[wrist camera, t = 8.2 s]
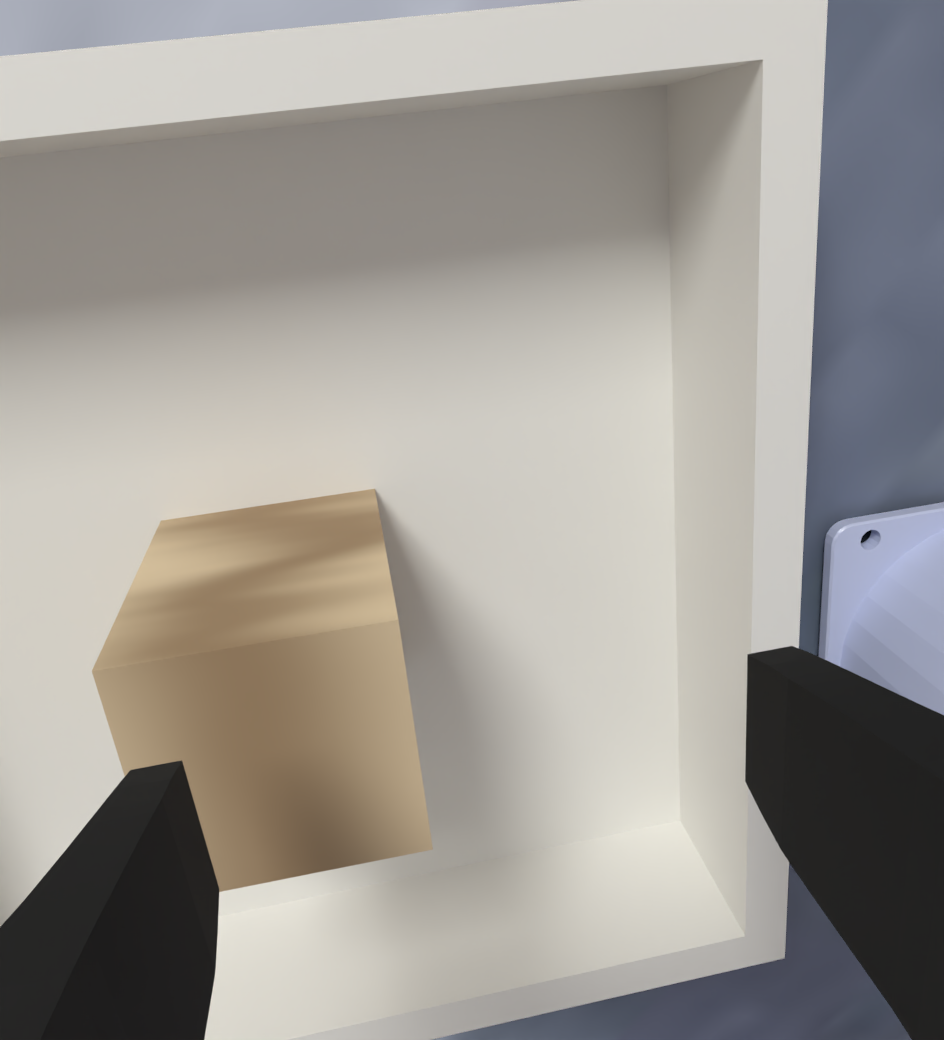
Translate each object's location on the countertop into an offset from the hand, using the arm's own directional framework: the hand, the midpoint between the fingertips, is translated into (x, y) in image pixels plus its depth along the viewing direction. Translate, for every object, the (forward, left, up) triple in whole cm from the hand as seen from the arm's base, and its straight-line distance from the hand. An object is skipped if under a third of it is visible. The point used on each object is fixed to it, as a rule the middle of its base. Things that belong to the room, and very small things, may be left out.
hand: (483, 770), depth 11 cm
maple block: (+3, +1, -9) cm, 9 cm away
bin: (+3, +1, -9) cm, 10 cm away
